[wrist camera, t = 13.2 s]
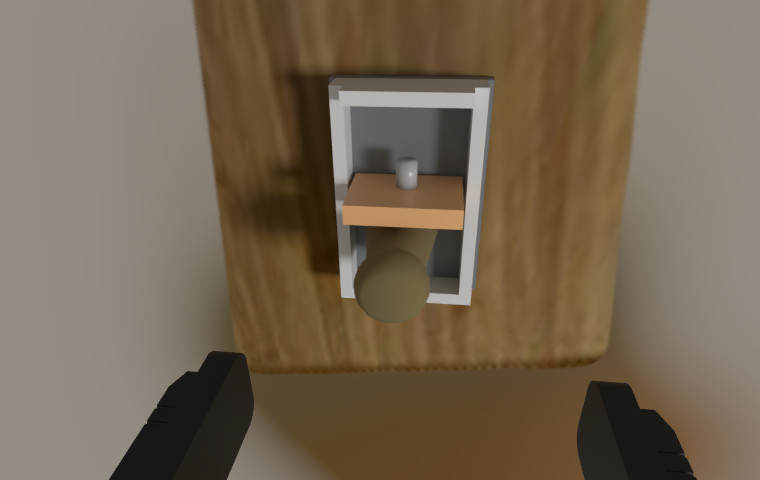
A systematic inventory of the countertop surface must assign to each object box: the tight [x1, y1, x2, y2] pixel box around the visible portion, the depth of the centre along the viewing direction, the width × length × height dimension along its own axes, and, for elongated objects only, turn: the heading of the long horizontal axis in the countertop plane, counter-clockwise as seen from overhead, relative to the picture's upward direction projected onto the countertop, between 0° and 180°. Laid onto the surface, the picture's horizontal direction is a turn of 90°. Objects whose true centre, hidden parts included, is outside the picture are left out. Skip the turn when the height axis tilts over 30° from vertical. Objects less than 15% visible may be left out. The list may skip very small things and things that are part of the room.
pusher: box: [342, 157, 464, 230], centre depth 37 cm, size 4×8×6 cm, turn 91°
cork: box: [354, 226, 438, 323], centre depth 38 cm, size 6×6×11 cm
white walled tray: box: [328, 75, 495, 305], centre depth 40 cm, size 18×12×5 cm, turn 1°
